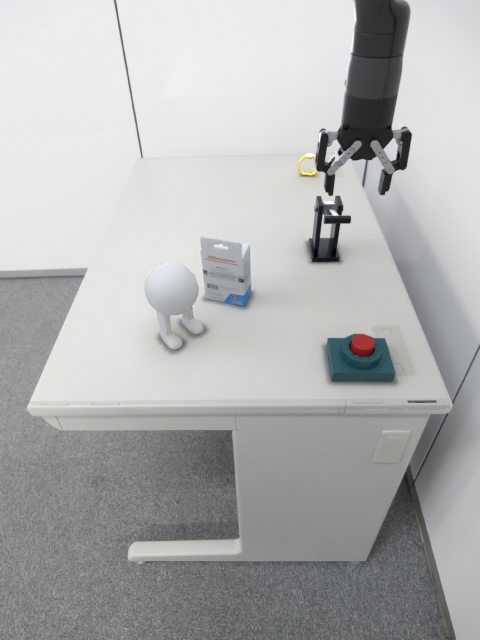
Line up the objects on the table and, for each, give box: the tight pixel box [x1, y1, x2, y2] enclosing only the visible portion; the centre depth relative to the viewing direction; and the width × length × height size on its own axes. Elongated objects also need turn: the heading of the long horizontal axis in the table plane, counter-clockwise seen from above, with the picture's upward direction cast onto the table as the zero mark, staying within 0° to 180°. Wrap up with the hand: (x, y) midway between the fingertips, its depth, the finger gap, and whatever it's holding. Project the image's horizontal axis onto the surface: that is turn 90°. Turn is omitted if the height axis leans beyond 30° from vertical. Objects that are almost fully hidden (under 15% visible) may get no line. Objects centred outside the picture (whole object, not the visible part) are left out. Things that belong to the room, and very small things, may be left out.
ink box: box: [199, 235, 252, 307], centre depth 85 cm, size 8×5×15 cm, turn 71°
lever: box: [322, 200, 352, 225], centre depth 89 cm, size 12×5×2 cm, turn 179°
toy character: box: [144, 261, 205, 351], centre depth 77 cm, size 9×9×15 cm
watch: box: [297, 152, 318, 177], centre depth 128 cm, size 6×3×6 cm, turn 81°
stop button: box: [351, 333, 374, 357], centre depth 73 cm, size 4×4×2 cm
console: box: [325, 333, 396, 383], centre depth 74 cm, size 10×8×4 cm
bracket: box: [307, 195, 344, 263], centre depth 96 cm, size 8×6×13 cm
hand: (355, 193), depth 74 cm, fingers open, 8 cm apart
